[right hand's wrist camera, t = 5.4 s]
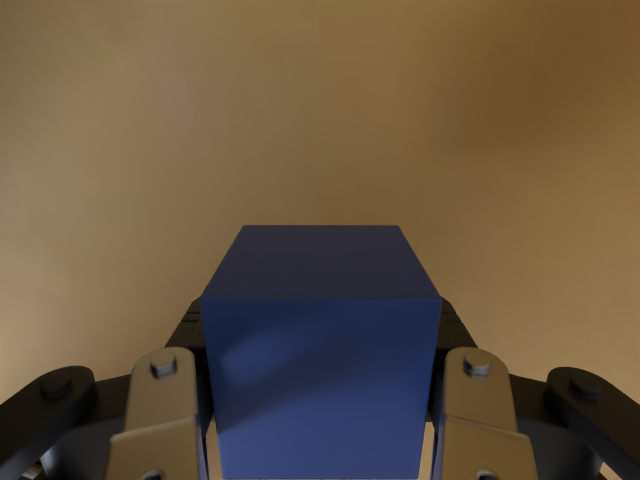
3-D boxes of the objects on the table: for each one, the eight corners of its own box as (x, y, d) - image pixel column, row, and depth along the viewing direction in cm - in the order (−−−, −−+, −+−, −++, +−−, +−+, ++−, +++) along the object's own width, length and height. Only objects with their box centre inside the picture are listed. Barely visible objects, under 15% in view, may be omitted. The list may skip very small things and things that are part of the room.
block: (398, 224, 12) (443, 298, 7) (387, 359, 13) (418, 480, 9) (242, 224, 12) (198, 298, 7) (253, 359, 13) (222, 480, 9)
